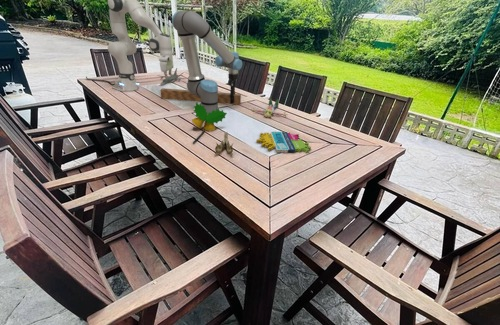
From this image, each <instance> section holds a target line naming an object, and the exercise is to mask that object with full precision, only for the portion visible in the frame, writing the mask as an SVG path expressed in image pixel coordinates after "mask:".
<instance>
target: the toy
mask: <svg viewBox="0 0 500 325" xmlns="http://www.w3.org/2000/svg"><path fill="white" fill-rule="evenodd" d="M278 107H279V99H276V100H275V102H274V104H273V100H272V98H271V97H270V98H269V100H268V106H267V107H266V108H265V110H263V109H255V108H254V107H252V108H251V109H250V111H251V112H252V113H255V112H257V113H263V114H262V116H263V117H265V118H272V117H273V115H277V116H283V117H284V118H287V116H288V114H287V113H286V111H285V112H283V113H280V112H278V111H275V109H276V108H278Z"/></svg>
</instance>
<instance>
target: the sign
mask: <svg viewBox="0 0 500 325" xmlns="http://www.w3.org/2000/svg"><path fill="white" fill-rule="evenodd" d="M299 136H300V135H299V134H298V133H296V134H294V133H291V132H287V131H270V132H264V133H263V132H260V133H259V139H258V138H257V139H256V143H257V144H261V148H263V147H264V148H265V149H267V151H268V152H271V151H272V150H273V149H275V152H276V153H283V154H285V153H287V154H288V153H290V154H293V153H296V152H298V153H301V152H305V153H310V151H311V150H312V149H311V148H312V146H309V142H304V141H303V139H302V138H299Z"/></svg>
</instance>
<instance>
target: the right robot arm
mask: <svg viewBox="0 0 500 325" xmlns="http://www.w3.org/2000/svg"><path fill="white" fill-rule="evenodd" d="M171 24H172V27H173V28H174V29H175V30H176V32H177V36H178V38H179V39H180V40H181V44H182V48H183V53H184V57H185V63H186V67H187V70H188V71H187V72H188V77H187V82H186V90H189V92H190V93H192V94H194V95H196V96H199V97H201V102H200V104H201V106H204V109H206V112H208V113H211V112H212V110H214V111H216V110H217V109H219V111H221V110H220V108H219V103H218V92H219V87H218V83H217V82H216V81H215V80H213V79H207V78H205V75H204V74H203V73H202V69H201V63H200V59H199V53H198V47H197V43H196V38H195V37H196V36H197V37H198V38H199V39H200V40H203V41H204V42H205V44H206V45H207V46H209V48H211V49H212V51H214V53H216V54H217V56H216V57H215V58H214V63H215V66H216V67H219V68H222V67H223V68H226V69H227V71H228V74H227V77H228V80H230V81H229V84H230V86H229V87H230V92H229V93H230V104H229V105H235V104H234V94H236V82H237V81H236V80H238V79H239V71H240V70H241V69H242V67H243V61H242V59H240V58H239V57H240V55H239V52H236V51H230V49H229V48H228V47H227V46H226V45H225V44H224V43H223V41H222V40H221V39H220V38H219V37H218V36H217V35H216V33H215V32H214V31H213V30H212V27H211V25H210V24H209V23H208V22H207V21H206V20H205V19H204V18H203V17H202V16H201V15H200V14H199V13H197V12H195V11H193V10H185V9H184V10H183V9H182V10H177V11H175V12H174V13H173V15H172V18H171ZM208 113H207V115H208ZM204 125H205V122H204V123H203V126H204ZM205 131H206V130H205V129H202V132H201V133H200V134H199V135H198V136H197V137H196V138H195V139H194V141H192V144H196V143H197V141H198V140H199V139H200V138H201V137H202V136H203V135H204V133H205Z"/></svg>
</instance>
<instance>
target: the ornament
mask: <svg viewBox="0 0 500 325" xmlns="http://www.w3.org/2000/svg"><path fill="white" fill-rule="evenodd" d="M219 110H220V108H219V109H217V110H216V111H214V110H212V112H211V113H208V112H206V109H204V106H201V103H198V102H197V101H195V105H194V106H193V112H194V113H195V118H192V119H191V122H192V123H193V125H195V127H197V128H198V129H202V130H204V129H205V131H206V132H212V131H213V132H214V131H215V130H216V126H215V124H218V123H219V122H223V119H226V115H227V114H228V113H227V112H224V110H223V109H221V110H220V111H219ZM207 113H208V115H207ZM204 123H205V125H204ZM214 123H215V124H214Z"/></svg>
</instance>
